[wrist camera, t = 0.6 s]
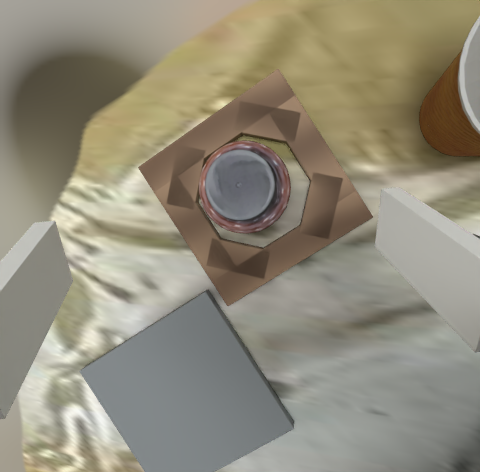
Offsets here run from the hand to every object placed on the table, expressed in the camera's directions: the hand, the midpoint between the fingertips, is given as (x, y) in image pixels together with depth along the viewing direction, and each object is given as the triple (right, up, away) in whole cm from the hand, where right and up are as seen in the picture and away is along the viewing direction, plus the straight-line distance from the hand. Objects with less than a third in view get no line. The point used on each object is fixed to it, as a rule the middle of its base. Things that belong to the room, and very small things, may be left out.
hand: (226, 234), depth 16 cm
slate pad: (-4, -14, +19) cm, 24 cm away
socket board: (+2, +4, +17) cm, 17 cm away
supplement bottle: (+2, +4, +17) cm, 18 cm away
